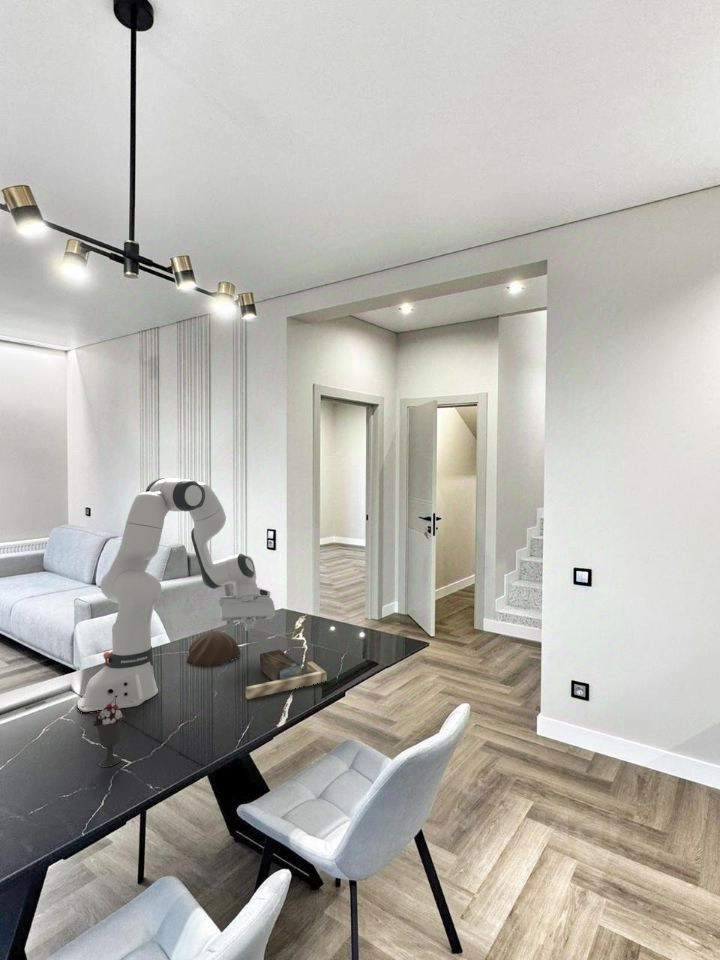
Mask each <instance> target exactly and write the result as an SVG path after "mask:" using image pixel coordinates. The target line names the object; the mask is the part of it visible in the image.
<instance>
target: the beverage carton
mask: <svg viewBox="0 0 720 960" xmlns="http://www.w3.org/2000/svg"><path fill="white" fill-rule="evenodd" d="M259 661H260V662H259V663H260V670H261V671H262V673H264V674H265V675H266V676H267V677H268V678H269V679H271V681H276V680H281V679H286V678H291V677H295V676H300V675H303V674H302V666H301V665H300V664H299V663H298V661H296V660H294V658H292V657H290V655H288V654H287V653H285V652H284V651H282V650H281V649H276V650H271V651H268V652H263V653H262V652H261V653H260V654H259Z"/></svg>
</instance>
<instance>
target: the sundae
mask: <svg viewBox="0 0 720 960" xmlns="http://www.w3.org/2000/svg"><path fill="white" fill-rule="evenodd" d="M115 697H118V695H117V696H115ZM115 697H114V698H115ZM113 700H114V699H113ZM115 701H116V698H115ZM112 702H113V701H112ZM112 702H111V703H112ZM111 703H110V704H108V705H107V706H106V707H105V708H104V709H103V710H102V711H99V712H100V713H99V716H98V715H97V714H94V717H95V719H94V720H93V722H92V724H93V727H96V729H97V733H98V739H99V744H100V745H101V746H102V747H103V748H105V749H106V752H107V755H106V757H105V758H102V759H101V760H100V761H101V763H100V764H101V766H110V765H115V764H117V765H118V764H120V763H121V761H122V760H123V758H122V756H120V755H115V754H114V752H113V751H114V750H113V748H114V746H115V745H117V744H118V742H119V741H120V735H121V726H122V721H123V719H124V718H126V717H125V715H123V714H122V712H121V710H120V709H119V708H118V706H117V705H116V702H115V705H114V706H113V707H112V705H111ZM119 762H120V763H119ZM115 766H116V765H115Z"/></svg>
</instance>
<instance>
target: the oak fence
mask: <svg viewBox="0 0 720 960" xmlns="http://www.w3.org/2000/svg"><path fill="white" fill-rule="evenodd" d="M306 671H308V672H307V673H306V674H302V675H300V676H295V677H291V678H286V679H281V680H276V681H273V680H271V681H267V682H263V683H260V684H259V683H258V684H254V685H249V686H245V698H246V699H247V700H251V699H254V698H255V699H256V698H260V697H264V696H265V697H266V696H268V695H273V694H278V693H281V692H285V691H286V692H287V691H289V690H295V688H296V689H300V688H304V687H303V686H305V687H309V686H314V685H317V683H318V684H322V683H326V682H325V681H328V679H327V678H328V677H327V676H328V675H327V674H328V673H327V671H326V670H324V669H323V668H322V667H320V666H319V665H318V664H316V663H315V662H314V661H309V662H306ZM321 682H322V683H321ZM313 684H314V685H313ZM299 687H300V688H299Z"/></svg>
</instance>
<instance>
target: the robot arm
mask: <svg viewBox="0 0 720 960" xmlns="http://www.w3.org/2000/svg"><path fill="white" fill-rule="evenodd" d="M222 505H223V504H222V503H221V502H220V500H219V498H218V496H217V495H216V494H215V492H214V491H213V489H212V488H211V487H210V486H209V485H208V484H207V483H205V482H202V481H201V482H197V481H195V480H192V479H188V478H186V479H184V478H178V477H167V478H157V479H155V480H153V481H151V482H150V483H149V484H148V486H147V487H146V489H145V491H144V492H141V493H139V494H137V495H136V496H135V498H134V500H133V502H132V504H131V507H130V510H129V513H128V515H127V519H126V522H125V527H124V529H123V530H124V531H123V534H122V538H121V543H120V545H119V548H118V552H117V554H116V555H115V558H114V560H113V562H112V564H111V566H110V568H109V570H108V572H106V573H105V575H103V577H102V578H101V581H100V590H101V593H102V594H103V596H104V597H106V599H108V600H109V601H110V602H112V603H116V604H117V605H118V611H117V616H116V620H115V622H114V623H113V625H112V627H111V642H112V644H111V645H112V646H111V647H112V648H111V649H112V651H111V652H110V651H105V652H104V653H103V654H102V656H103V659H104V661H105V662H104V663H105V666H103V667H102V668H101V669H100V670H99V671H98V672H97V673H96V674H94V675H93V676H91V678H90V679H89V681H88V683H87V684H86V688H85V693H84V694H85V698H80V697H79V698H80V699H79V698H78V699H79V700H77V702H76V703H77V705H78V708H79V709H81V710H83V711H94V710H103V709H104V708H105V707H106V706H107V705H108V704H110V703H111V702H112V701H113V702H112V703H111V705H112V707H113V706H114V705H115V702H116V705H117V706H118V709H123V708H124V709H125V708H133V707H137V706H140V705H141V704H143V703H144V702H145V701H148V700H149V699H151V698H153V697H154V696H156V695H157V694H158V693H159V689H158V686H157V683H156V680H155V679H156V678H155V675H154V668H153V666H154V648H153V646H152V634H151V633H152V627H151V626H152V618H153V612H154V608H155V605H156V603H157V602H158V601H159V600H160V597H161V594H162V590H163V589H162V584H161V582H160V581H159V579H158V578H156V577H155V576H154V575H152V574H151V573H149V572H146V571H147V568H148V566H149V565H150V562H151V561H152V560H153V558H154V557H156V555H157V554H158V551H159V547H160V542H161V537H162V534H163V529H164V524H165V518H166V516H167V515H168V514H167V513H169V512H189V515H190V516H191V519H192V521H193V524H194V526H193V528H192V530H191V532H190V533H191V536H190V539H191V542H192V546H193V549H194V552H195V553H194V554H195V555H196V560H197V562H198V566H199V569H200V574H201V578H202V582H203V584H204V585H205V586H207V588H210V589H213V590H216V589H218V588H221V587H223V586H224V585H228V584H231V583H234V592H233V593H234V595H230V596H228V595H225V596H222V597H221V598H219V602H218V603H219V607H220V614H219V615H220V620H221V621H223V622H227V621H228V622H230V621H241V624H242V625H243V626H244V630H245V632H250V631H254V630H255V626H254V625H255V624H256V621H257V620H272V619H273V618H274V617H275V616H276V608H275V604H274V600H273V599H272V598H271V592H270V591H269V590H267V589H263V588H260V587H258V584H257V574H256V573H257V572H256V567H255V563H254V561H253V558H252V556H249V555H247V554H243V553H237V554H233V555H230V556H228V557H224V558H221V559H217V560H213V559H212V558H211V554H210V551H209V548H208V541H210V540H211V539H212V538H213V537H215V536H216V535H218V534H219V533H220V532H221V530H223V527H224V526H225V524H226V519H227V516H226V512H225V510H224V507H223V506H222ZM247 621H250V622H251V623H250V624H248V623H247ZM117 695H118V697H115V696H117ZM114 697H115V698H116V701H115V698H114ZM113 699H114V700H113ZM77 705H76V706H77ZM82 707H84V708H82Z"/></svg>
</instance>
